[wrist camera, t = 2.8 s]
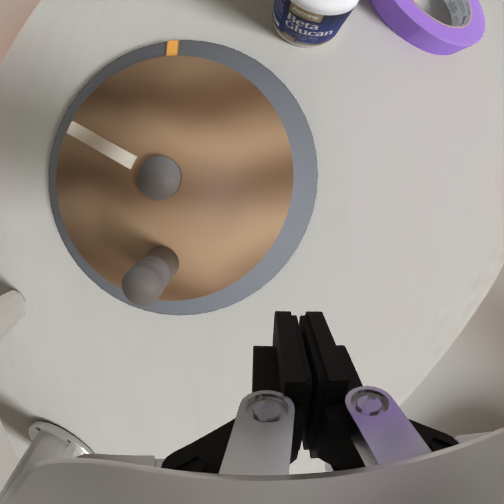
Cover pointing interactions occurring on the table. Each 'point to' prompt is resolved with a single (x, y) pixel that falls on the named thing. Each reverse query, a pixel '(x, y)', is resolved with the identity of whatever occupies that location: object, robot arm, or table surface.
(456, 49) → the masking tape
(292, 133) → the base plate
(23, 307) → the milkshake
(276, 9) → the pill bottle
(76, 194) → the dial
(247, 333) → the table surface
